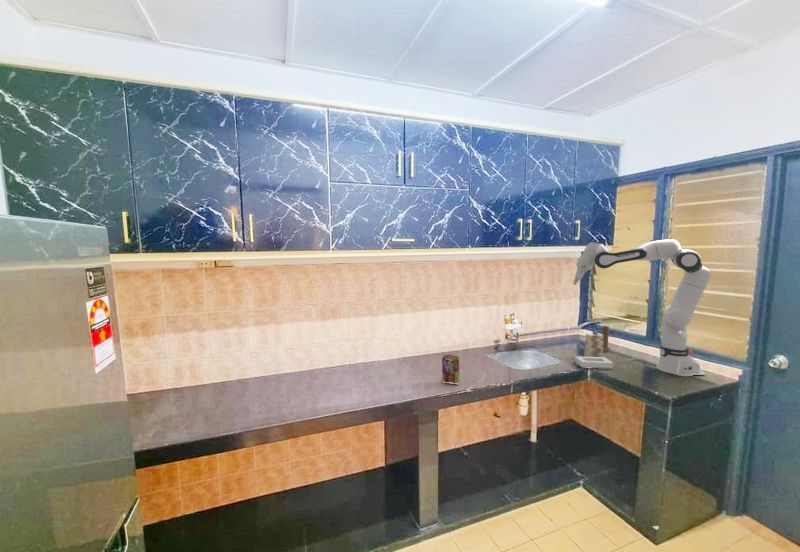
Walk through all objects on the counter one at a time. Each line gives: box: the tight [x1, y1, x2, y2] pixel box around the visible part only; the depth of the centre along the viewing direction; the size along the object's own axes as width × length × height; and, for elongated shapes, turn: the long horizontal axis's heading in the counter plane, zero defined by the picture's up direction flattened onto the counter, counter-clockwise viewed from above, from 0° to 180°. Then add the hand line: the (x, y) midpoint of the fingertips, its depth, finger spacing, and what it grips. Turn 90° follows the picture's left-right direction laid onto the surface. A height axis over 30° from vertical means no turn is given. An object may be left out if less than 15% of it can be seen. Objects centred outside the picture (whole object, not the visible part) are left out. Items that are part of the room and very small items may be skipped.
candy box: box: [441, 354, 461, 383], centre depth 181 cm, size 9×4×15 cm, turn 72°
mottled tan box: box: [583, 333, 604, 357], centre depth 217 cm, size 10×3×16 cm, turn 84°
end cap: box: [574, 355, 614, 370], centre depth 205 cm, size 18×10×4 cm, turn 84°
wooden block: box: [592, 325, 610, 353], centre depth 230 cm, size 4×11×18 cm, turn 104°
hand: (574, 283), depth 223 cm, fingers open, 8 cm apart
